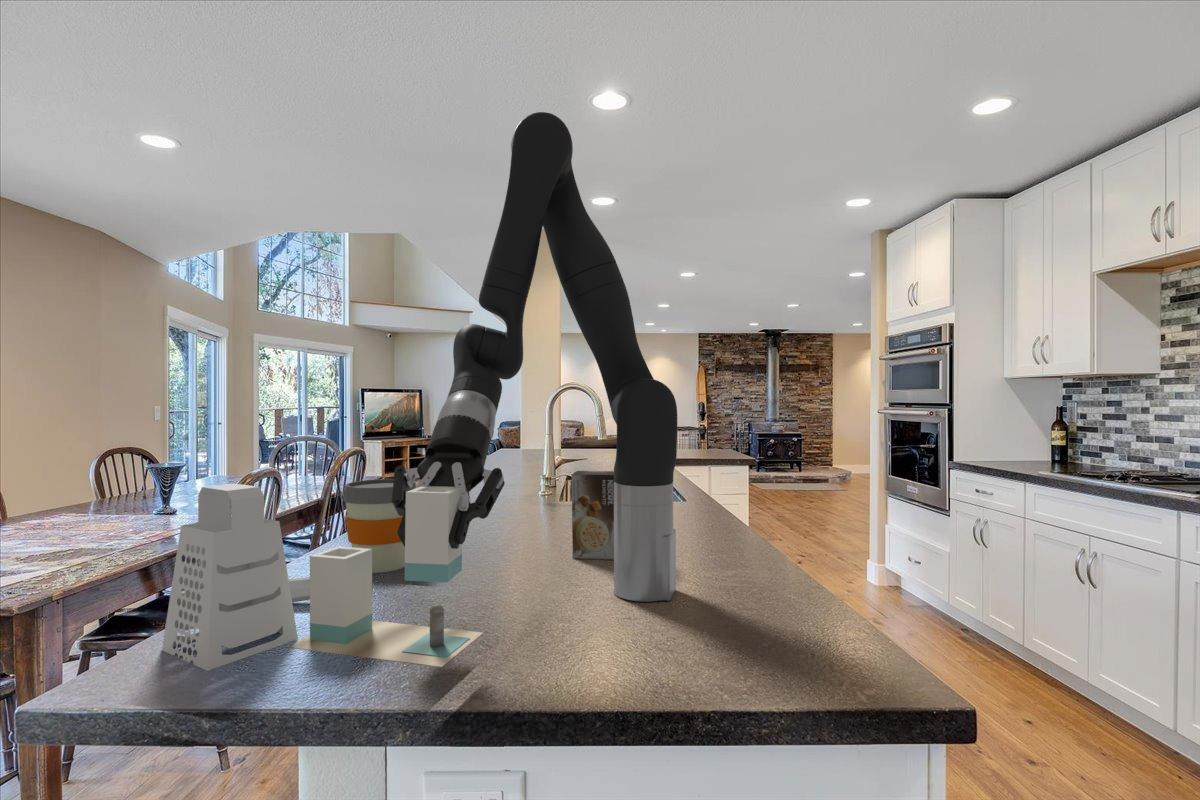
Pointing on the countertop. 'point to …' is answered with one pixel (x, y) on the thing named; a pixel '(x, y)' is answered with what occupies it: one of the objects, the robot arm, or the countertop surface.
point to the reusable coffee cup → (375, 522)
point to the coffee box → (593, 514)
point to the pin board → (402, 642)
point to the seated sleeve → (340, 594)
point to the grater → (229, 579)
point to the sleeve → (431, 534)
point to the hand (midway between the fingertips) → (429, 543)
